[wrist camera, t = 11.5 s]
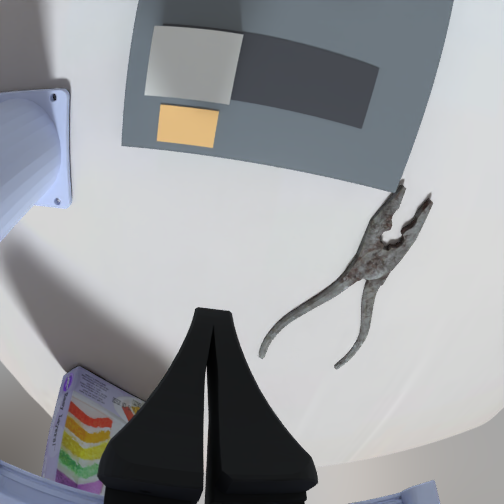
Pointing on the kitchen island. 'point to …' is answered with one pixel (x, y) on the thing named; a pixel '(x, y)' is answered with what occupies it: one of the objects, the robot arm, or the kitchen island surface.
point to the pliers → (364, 269)
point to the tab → (192, 64)
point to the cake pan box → (85, 428)
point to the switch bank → (299, 84)
